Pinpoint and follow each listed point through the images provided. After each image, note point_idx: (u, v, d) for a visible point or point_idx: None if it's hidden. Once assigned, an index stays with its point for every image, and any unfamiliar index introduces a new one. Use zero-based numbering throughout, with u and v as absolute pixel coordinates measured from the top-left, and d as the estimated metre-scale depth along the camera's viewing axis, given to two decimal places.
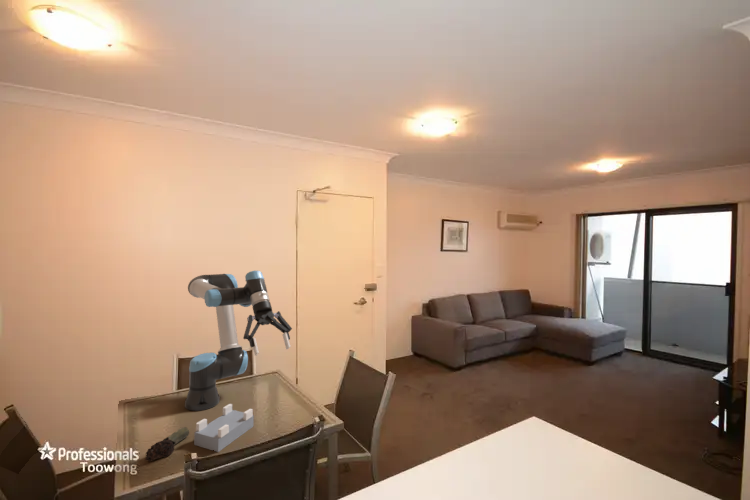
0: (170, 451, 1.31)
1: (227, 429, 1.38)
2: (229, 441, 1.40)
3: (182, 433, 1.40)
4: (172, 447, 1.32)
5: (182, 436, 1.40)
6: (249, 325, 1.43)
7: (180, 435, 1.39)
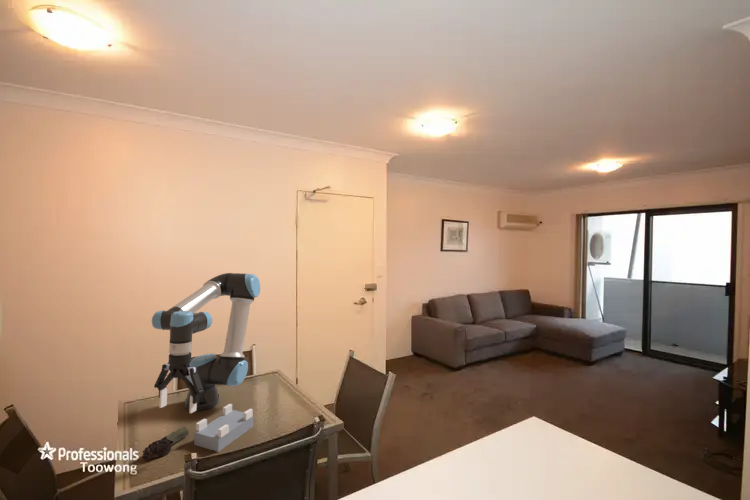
0: (167, 450, 1.31)
1: (227, 429, 1.38)
2: (229, 441, 1.40)
3: (181, 433, 1.40)
4: (169, 446, 1.32)
5: (181, 436, 1.40)
6: (160, 376, 1.34)
7: (178, 435, 1.39)
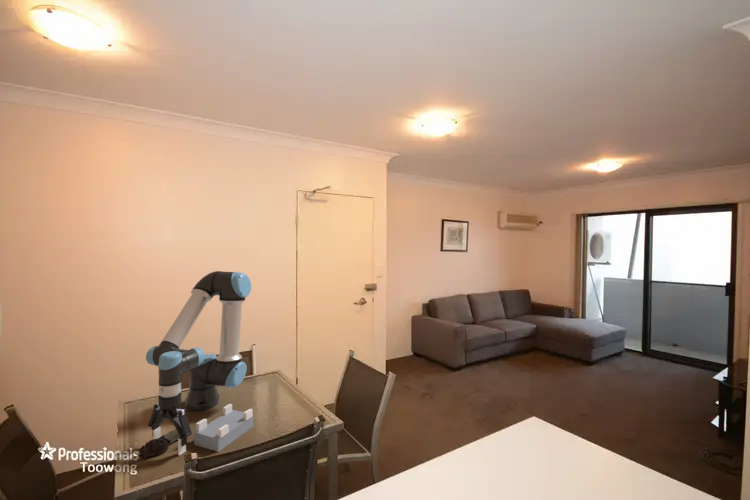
0: (163, 450, 1.32)
1: (227, 429, 1.38)
2: (229, 441, 1.40)
3: None
4: (166, 446, 1.33)
5: None
6: (152, 416, 1.36)
7: (176, 434, 1.40)
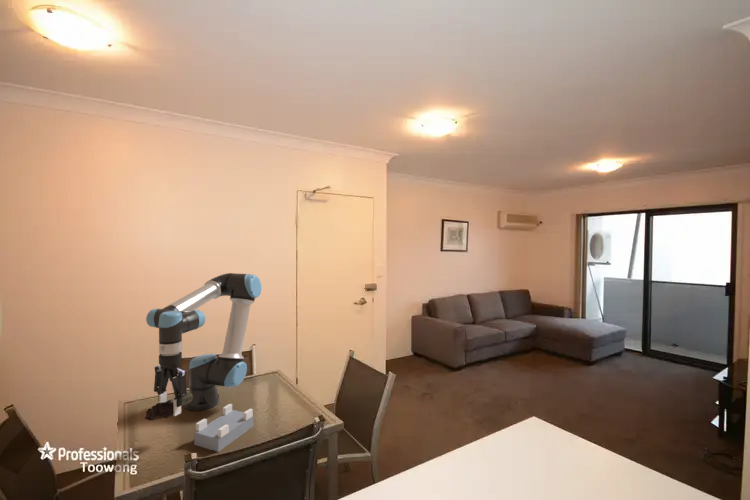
0: (170, 413, 1.31)
1: (227, 429, 1.38)
2: (229, 441, 1.40)
3: (185, 397, 1.40)
4: (172, 409, 1.32)
5: (185, 400, 1.39)
6: (155, 379, 1.35)
7: (182, 399, 1.38)
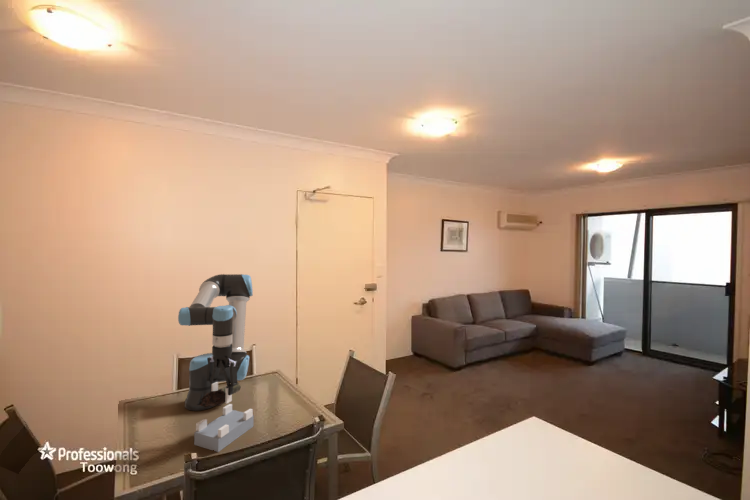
0: (222, 400, 1.40)
1: (227, 429, 1.38)
2: (229, 441, 1.40)
3: (234, 387, 1.49)
4: (224, 397, 1.41)
5: (234, 390, 1.49)
6: (208, 369, 1.45)
7: None
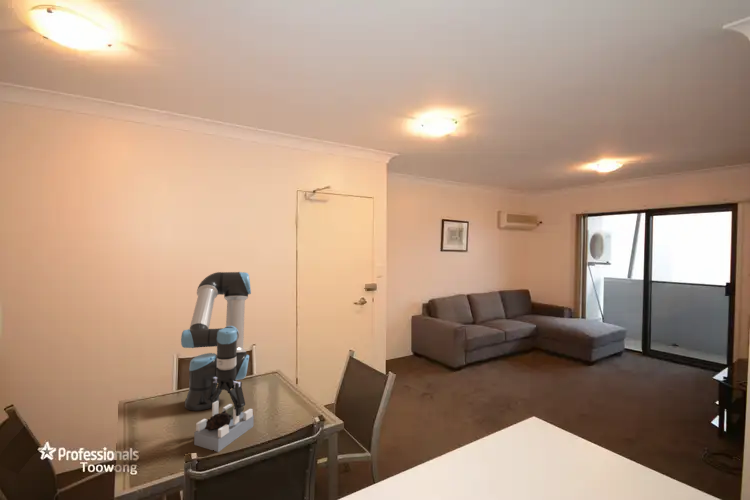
0: (227, 423, 1.42)
1: (227, 429, 1.38)
2: (229, 441, 1.40)
3: None
4: (228, 420, 1.43)
5: None
6: (210, 389, 1.46)
7: None
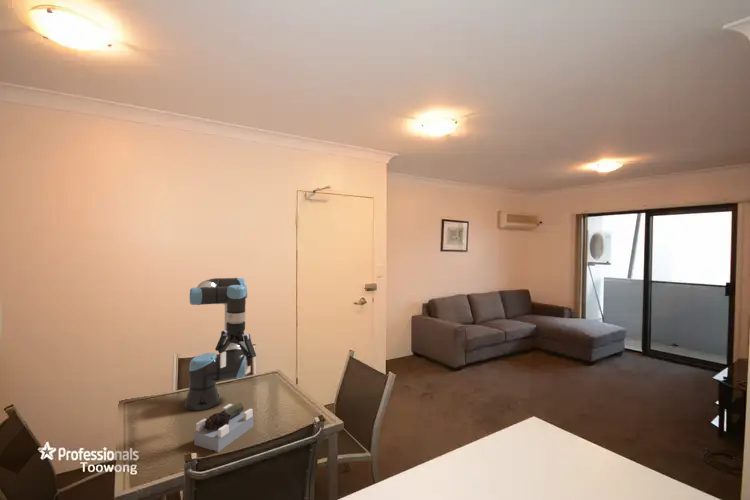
0: (225, 423, 1.42)
1: (227, 429, 1.38)
2: (229, 441, 1.40)
3: (237, 408, 1.51)
4: (227, 419, 1.43)
5: (237, 411, 1.51)
6: (219, 341, 1.54)
7: (235, 410, 1.50)
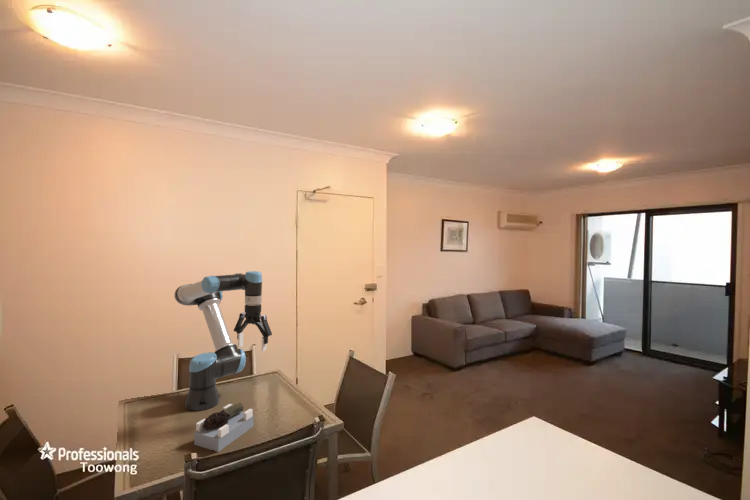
0: (224, 422, 1.42)
1: (227, 429, 1.38)
2: (229, 441, 1.40)
3: (237, 408, 1.51)
4: (226, 419, 1.43)
5: (237, 410, 1.51)
6: (238, 322, 1.69)
7: (234, 410, 1.50)
